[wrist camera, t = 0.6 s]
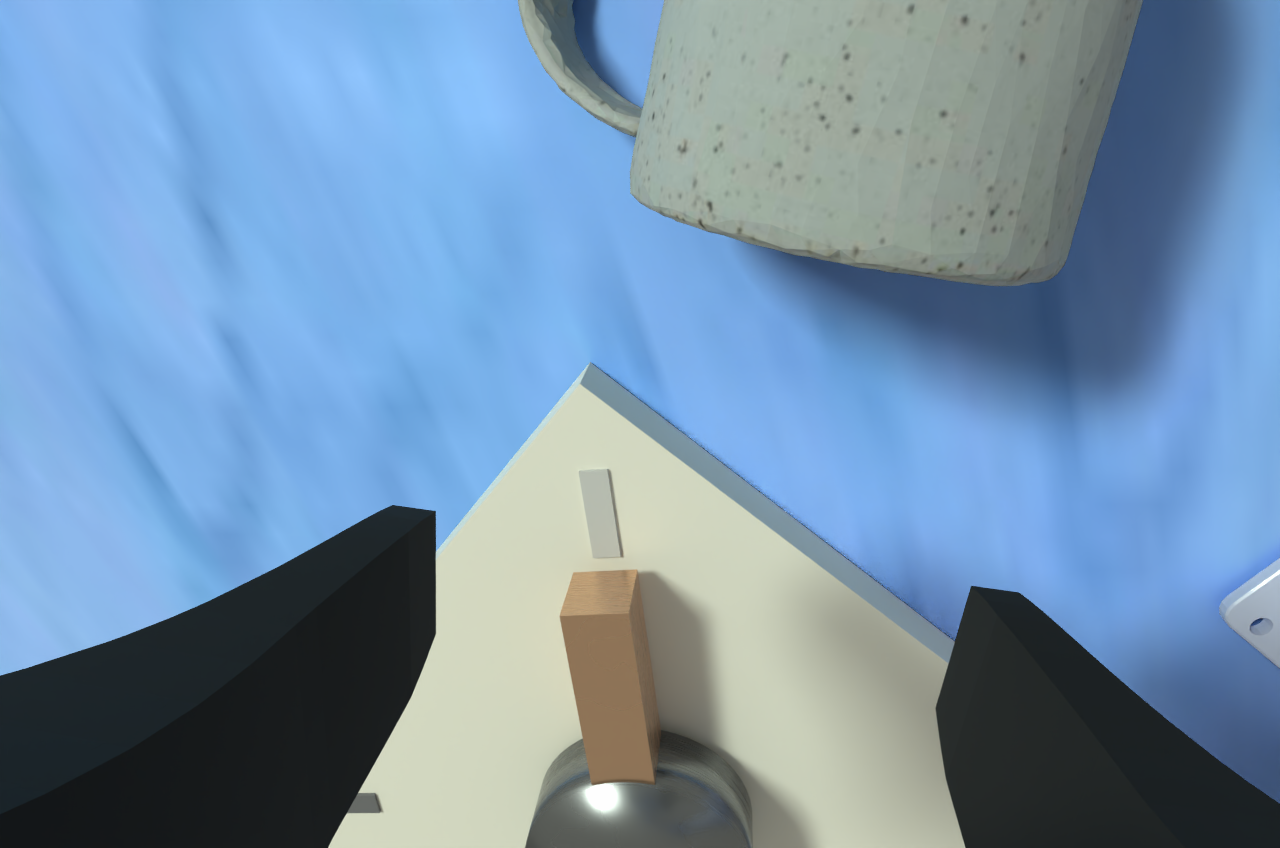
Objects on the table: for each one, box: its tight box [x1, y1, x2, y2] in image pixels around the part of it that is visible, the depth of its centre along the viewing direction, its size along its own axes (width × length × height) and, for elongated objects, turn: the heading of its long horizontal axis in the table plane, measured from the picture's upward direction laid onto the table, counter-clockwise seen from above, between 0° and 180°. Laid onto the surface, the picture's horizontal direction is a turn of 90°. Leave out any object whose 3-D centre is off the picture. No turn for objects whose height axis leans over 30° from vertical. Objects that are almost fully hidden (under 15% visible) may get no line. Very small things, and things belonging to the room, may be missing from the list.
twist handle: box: [525, 569, 753, 848], centre depth 23 cm, size 11×6×2 cm, turn 7°
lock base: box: [328, 362, 965, 848], centre depth 26 cm, size 18×18×2 cm
